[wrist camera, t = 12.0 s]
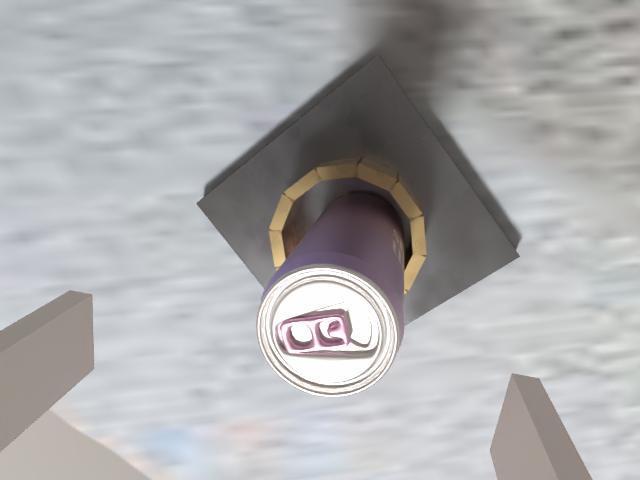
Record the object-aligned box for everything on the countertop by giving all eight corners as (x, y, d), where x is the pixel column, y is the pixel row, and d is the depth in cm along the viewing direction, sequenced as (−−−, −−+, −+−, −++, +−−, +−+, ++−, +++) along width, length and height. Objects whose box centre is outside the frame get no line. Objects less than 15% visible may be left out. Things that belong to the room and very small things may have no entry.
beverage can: (309, 200, 32) (234, 273, 18) (396, 184, 31) (388, 249, 17) (327, 280, 33) (270, 408, 19) (410, 268, 32) (416, 395, 18)
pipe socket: (202, 200, 35) (174, 213, 30) (378, 56, 30) (375, 47, 26) (332, 362, 37) (322, 398, 32) (515, 251, 32) (534, 274, 27)
